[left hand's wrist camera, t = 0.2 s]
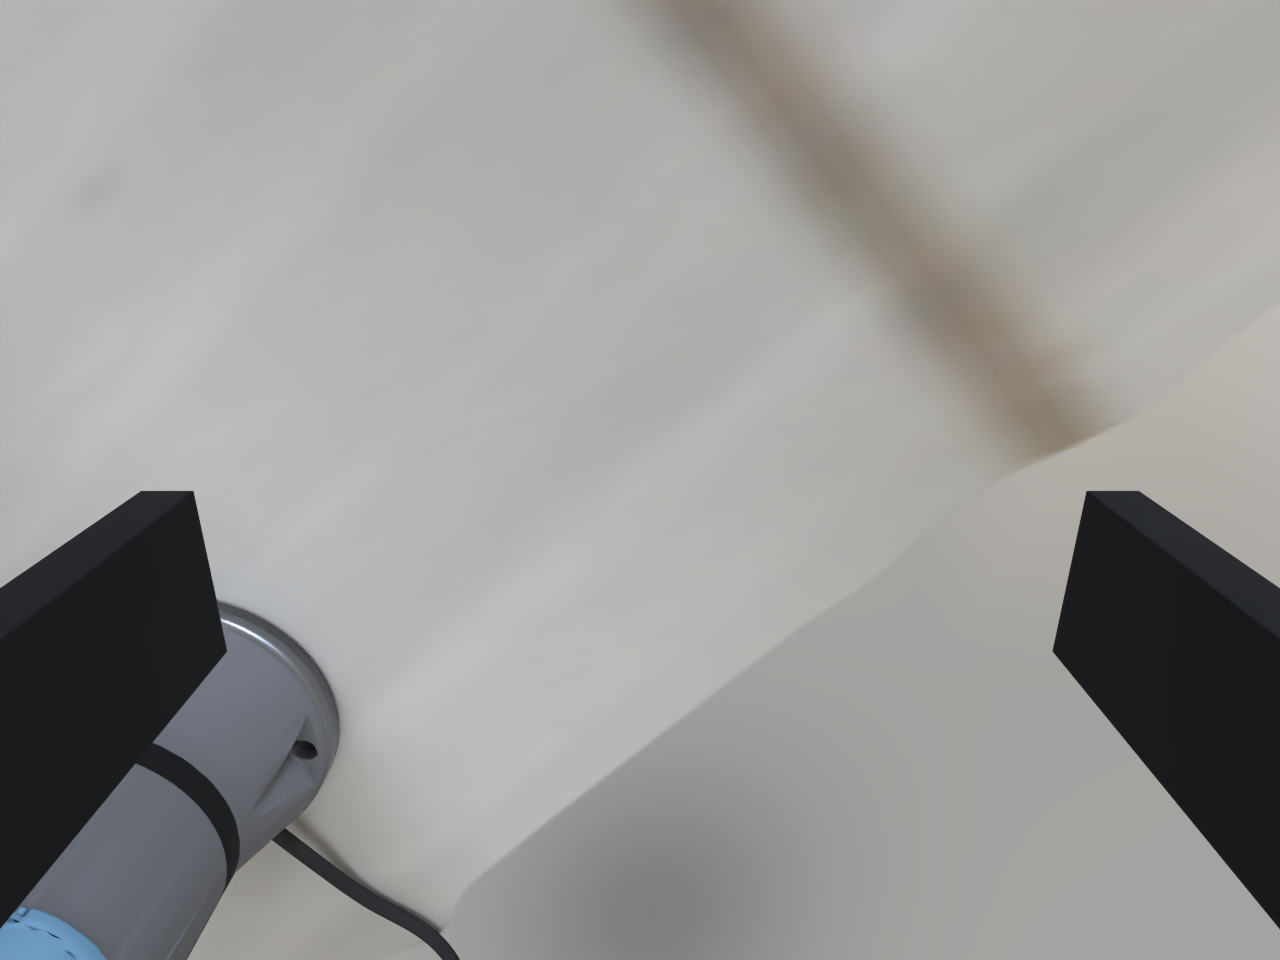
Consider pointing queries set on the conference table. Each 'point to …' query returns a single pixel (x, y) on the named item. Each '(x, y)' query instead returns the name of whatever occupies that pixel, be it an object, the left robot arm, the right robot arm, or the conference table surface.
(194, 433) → the conference table surface
